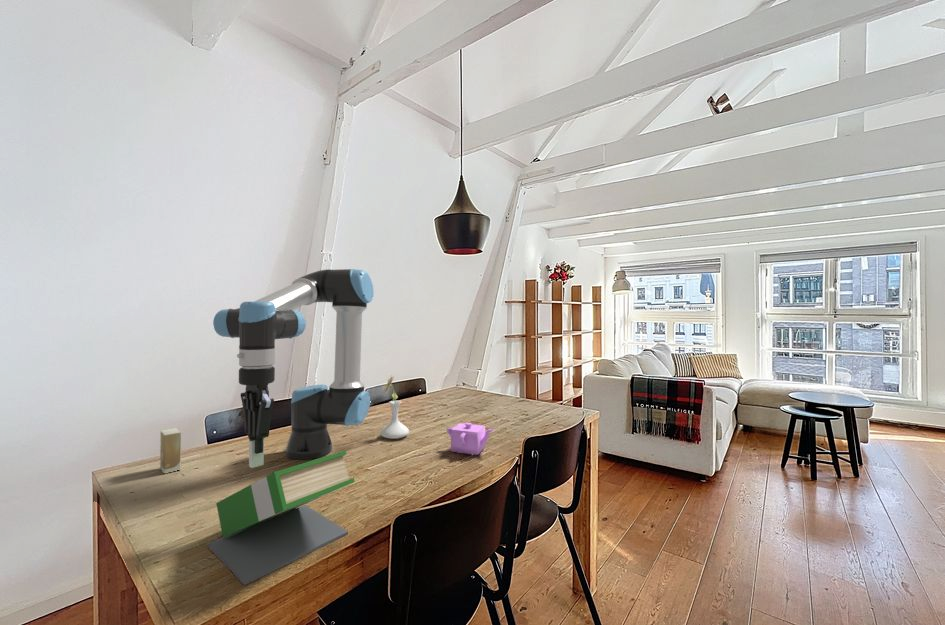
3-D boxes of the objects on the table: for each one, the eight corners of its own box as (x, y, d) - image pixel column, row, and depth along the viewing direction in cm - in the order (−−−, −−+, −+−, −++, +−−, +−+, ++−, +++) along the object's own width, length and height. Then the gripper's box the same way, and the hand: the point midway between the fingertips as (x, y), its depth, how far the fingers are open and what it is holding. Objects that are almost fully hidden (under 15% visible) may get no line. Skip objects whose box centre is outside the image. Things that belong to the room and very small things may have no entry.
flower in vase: (386, 431, 166) (386, 371, 166) (412, 432, 165) (413, 372, 165) (374, 441, 154) (374, 376, 153) (402, 443, 152) (403, 377, 152)
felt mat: (207, 546, 86) (207, 543, 86) (305, 507, 103) (305, 504, 103) (244, 585, 74) (244, 582, 74) (348, 534, 91) (348, 531, 91)
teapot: (498, 448, 148) (499, 421, 147) (488, 462, 134) (488, 432, 134) (453, 443, 153) (453, 416, 153) (438, 455, 140) (438, 426, 140)
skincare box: (159, 469, 126) (159, 430, 126) (176, 465, 129) (176, 427, 129) (163, 475, 122) (164, 434, 122) (181, 470, 125) (181, 431, 125)
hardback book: (288, 479, 105) (345, 450, 94) (295, 508, 103) (354, 481, 92) (216, 503, 90) (274, 472, 79) (222, 537, 88) (283, 510, 77)
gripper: (229, 365, 97) (228, 463, 97) (251, 371, 88) (251, 478, 88) (261, 362, 102) (260, 454, 103) (285, 367, 94) (285, 468, 94)
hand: (256, 465), depth 96 cm, fingers closed
